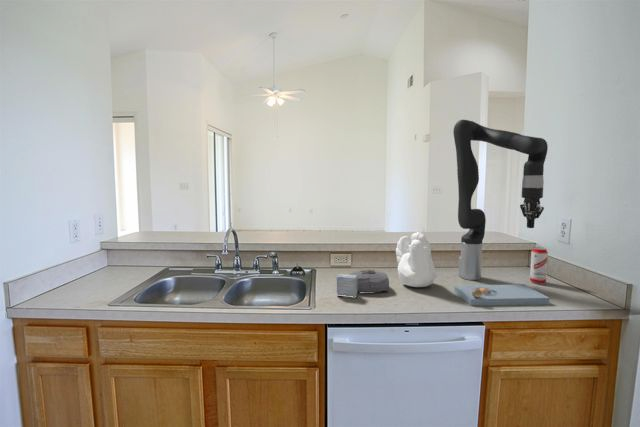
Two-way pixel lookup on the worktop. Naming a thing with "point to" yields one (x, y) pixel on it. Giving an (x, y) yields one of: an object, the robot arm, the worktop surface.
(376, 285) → the grey rounded bag
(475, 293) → the cork ball
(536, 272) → the beer can
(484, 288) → the ball
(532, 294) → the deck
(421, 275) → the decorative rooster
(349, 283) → the medicine box
